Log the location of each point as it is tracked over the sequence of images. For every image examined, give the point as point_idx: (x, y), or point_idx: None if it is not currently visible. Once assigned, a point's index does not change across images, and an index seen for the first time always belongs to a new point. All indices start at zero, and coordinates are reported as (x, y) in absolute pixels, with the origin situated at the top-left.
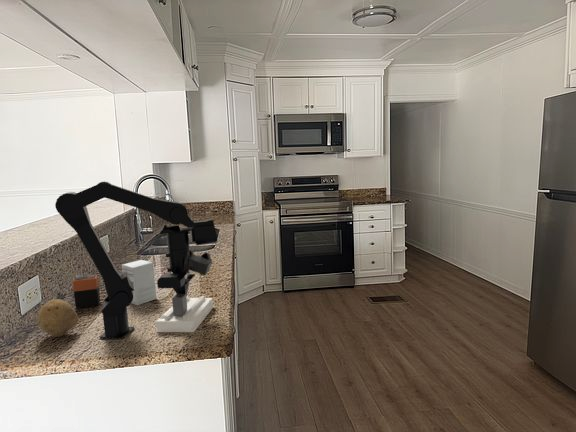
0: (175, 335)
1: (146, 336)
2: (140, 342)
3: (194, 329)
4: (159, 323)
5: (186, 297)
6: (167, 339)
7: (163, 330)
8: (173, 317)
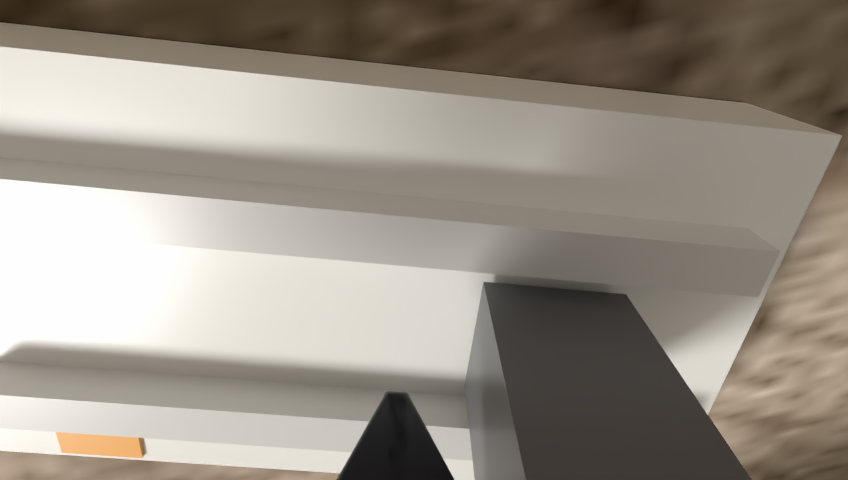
0: None
1: None
2: (781, 459)
3: (722, 103)
4: None
5: (373, 427)
6: (816, 304)
7: None
8: None
